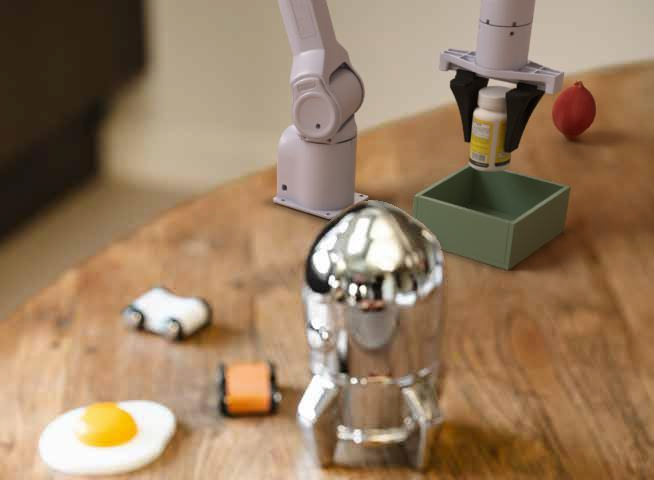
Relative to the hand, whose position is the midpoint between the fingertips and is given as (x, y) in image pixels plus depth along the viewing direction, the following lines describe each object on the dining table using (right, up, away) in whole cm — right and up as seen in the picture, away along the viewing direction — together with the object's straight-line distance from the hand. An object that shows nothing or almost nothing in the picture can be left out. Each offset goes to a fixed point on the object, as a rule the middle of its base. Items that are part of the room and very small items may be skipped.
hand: (491, 145), depth 139 cm
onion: (+17, +11, +28) cm, 34 cm away
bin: (0, -9, +4) cm, 10 cm away
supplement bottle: (0, -2, +2) cm, 3 cm away
